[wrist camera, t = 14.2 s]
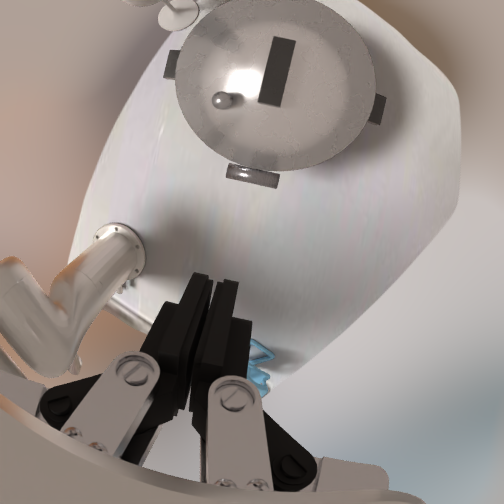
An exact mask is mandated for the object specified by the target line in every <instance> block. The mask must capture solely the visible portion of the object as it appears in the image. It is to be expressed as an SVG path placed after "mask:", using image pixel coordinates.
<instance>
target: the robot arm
mask: <svg viewBox="0 0 504 504" xmlns="http://www.w3.org/2000/svg"><path fill="white" fill-rule="evenodd" d="M145 257H146V256H145V250H144V247H143V245H142V243H141V241H140V239H139V238H138V236H137V235H136V234H135V233H134V232H133V231H132V230H130V229H129V228H128V227H126V226H124V225H121V224H118V223H110V224H106V225H104V226H102V227H101V228H100V229H99V230H98V231H97V232H96V233H95V235H94V238H93V243H92V245H91V246H89V247H88V248H87V249H86V250H85V251H84V252H82V253H81V254H80V255H79V256H78V257H77V258H75V259H74V260H73V261H72V262H71V263H70V264H69V265H67V266H66V267H65V268H64V269H63V270H62V271H61V272H60V273H59V274H58V275H57V276H56V277H55V278H54V280H53V282H52V284H51V287H50V290H49V295H48V296H47V295H46V294H45V292H44V291H43V290H42V288H41V287H40V286H39V284H38V283H37V281H36V280H35V279H34V277H33V276H32V274H31V273H30V271H29V270H28V269H27V267H26V266H25V264H24V263H23V262H22V261H21V260H20V259H19V258H17V257H15V256H9V257H6V258H4V259H3V260H1V261H0V333H1V334H2V335H3V337H4V338H5V339H6V340H7V342H8V343H9V344H10V346H11V347H12V348H13V349H14V351H15V352H16V353H17V354H18V355H19V356H20V357H21V359H22V360H23V361H24V362H25V363H26V364H27V365H28V366H29V367H30V368H31V369H33V370H34V371H35V372H37V373H38V374H40V375H42V376H44V377H47V378H56V377H59V376H61V375H62V374H64V373H65V372H66V371H67V370H68V368H69V367H70V365H71V364H72V362H73V360H74V358H75V356H76V354H77V351H78V349H79V346H80V343H81V341H82V339H83V337H84V335H85V333H86V332H87V330H88V328H89V327H90V325H91V324H92V322H93V321H94V319H95V318H96V317H97V315H98V314H99V312H100V311H101V310H102V309H103V307H104V306H105V305H106V303H107V302H108V301H109V299H110V298H111V297H112V296H113V295H114V293H115V292H116V290H117V293H118V294H122V293H123V287H122V285H123V284H124V283H125V281H126V280H131V279H133V278H135V277H137V276H138V275H139V274H140V273H141V271H142V270H143V268H144V265H145ZM208 278H209V276H208V275H205V274H200V273H196V272H194V273H193V275H192V277H191V279H190V281H189V283H188V285H187V287H186V290H185V292H184V294H183V296H182V298H181V300H180V303H179V304H175V303H171V302H168V301H166V302H165V303H164V304H163V306H162V308H161V310H160V312H159V314H158V315H157V317H156V319H155V321H154V323H153V325H152V327H151V329H150V331H149V333H148V335H147V337H146V339H145V341H144V343H143V345H142V347H141V349H140V351H129V352H125V353H122V354H120V355H118V356H117V357H116V358H115V359H114V360H113V361H112V362H111V364H110V365H109V366H108V368H107V369H106V370H105V371H104V373H102V374H99V375H95V376H92V377H88V378H85V379H81V380H78V381H74V382H71V383H67V384H63V385H59V386H55V387H53V388H50V389H48V388H46V387H45V385H44V384H40V383H37V382H34V381H30V380H28V379H27V377H26V376H25V374H24V373H23V371H22V370H21V369H20V368H19V367H18V365H17V364H16V363H15V362H14V360H13V359H12V358H11V357H10V356H9V355H8V354H7V352H6V351H5V350H4V349H3V347H2V346H1V345H0V504H426V503H425V502H424V501H423V500H421V499H420V498H418V497H416V496H413V495H411V494H408V493H403V492H399V491H391V490H388V488H389V478H388V475H387V473H386V471H385V470H384V469H382V468H381V467H379V466H376V465H371V464H363V463H355V462H349V461H344V460H338V459H333V458H328V457H323V458H322V459H321V458H316V457H313V456H312V455H311V454H310V453H309V452H308V451H307V450H306V449H305V448H304V447H302V446H301V445H300V444H299V443H298V442H297V441H296V440H294V439H293V438H292V437H291V436H290V435H289V434H288V433H287V432H286V431H285V430H284V429H283V428H281V427H280V426H279V425H278V424H277V423H276V422H275V421H274V420H273V419H272V418H271V417H270V416H269V415H268V414H267V413H266V412H265V411H264V410H263V408H262V401H261V395H260V392H259V390H258V389H257V387H256V386H255V385H254V384H253V383H252V382H250V381H249V380H247V371H248V361H249V351H250V341H251V331H252V321H249V320H244V319H240V318H235V317H232V315H233V310H234V304H235V299H236V294H237V289H238V284H239V282H236V281H231V280H227V279H224V282H223V283H222V282H217V285H216V289H215V292H214V295H213V298H212V301H211V305H210V299H211V293H212V287H213V280H209V279H208ZM209 305H210V308H209ZM190 387H191V394H190V404H189V412H193V417H192V426H193V427H194V428H195V429H196V431H197V432H198V433H199V434H200V482H196V481H192V480H187V479H183V478H179V477H175V476H171V475H167V474H164V473H160V472H157V471H153V470H150V469H147V468H144V467H142V465H143V464H144V462H145V460H146V458H147V456H148V454H149V452H150V450H151V448H152V446H153V444H154V442H155V440H156V438H157V436H158V434H159V432H160V430H161V429H162V425H163V423H166V422H168V421H170V420H172V419H173V416H177V413H178V409H182V410H184V409H185V405H186V402H187V398H188V395H189V391H190Z"/></svg>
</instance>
